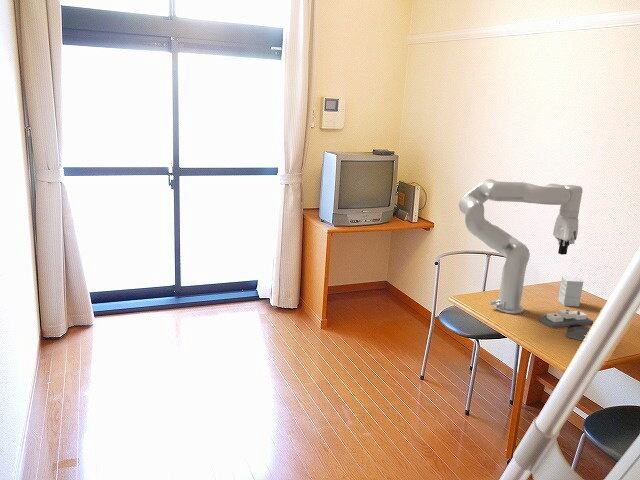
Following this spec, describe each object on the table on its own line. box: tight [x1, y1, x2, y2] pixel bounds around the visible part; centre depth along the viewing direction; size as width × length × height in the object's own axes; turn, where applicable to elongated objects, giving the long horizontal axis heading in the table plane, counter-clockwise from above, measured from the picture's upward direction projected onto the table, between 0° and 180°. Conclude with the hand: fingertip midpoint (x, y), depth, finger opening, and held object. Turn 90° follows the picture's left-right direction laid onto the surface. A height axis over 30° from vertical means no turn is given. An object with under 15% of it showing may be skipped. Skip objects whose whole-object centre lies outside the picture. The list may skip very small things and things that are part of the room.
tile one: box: [546, 312, 564, 322], centre depth 214 cm, size 5×5×2 cm
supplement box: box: [557, 275, 584, 308], centre depth 236 cm, size 7×7×13 cm
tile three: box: [571, 310, 588, 320], centre depth 217 cm, size 5×5×2 cm
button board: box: [538, 315, 594, 329], centre depth 216 cm, size 21×8×2 cm, turn 105°
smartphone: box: [565, 324, 590, 342], centre depth 207 cm, size 7×1×16 cm
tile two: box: [558, 309, 576, 319], centre depth 216 cm, size 5×5×2 cm
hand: (562, 253), depth 222 cm, fingers closed
